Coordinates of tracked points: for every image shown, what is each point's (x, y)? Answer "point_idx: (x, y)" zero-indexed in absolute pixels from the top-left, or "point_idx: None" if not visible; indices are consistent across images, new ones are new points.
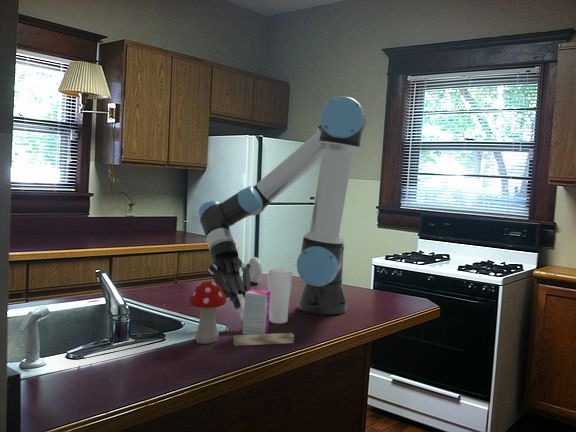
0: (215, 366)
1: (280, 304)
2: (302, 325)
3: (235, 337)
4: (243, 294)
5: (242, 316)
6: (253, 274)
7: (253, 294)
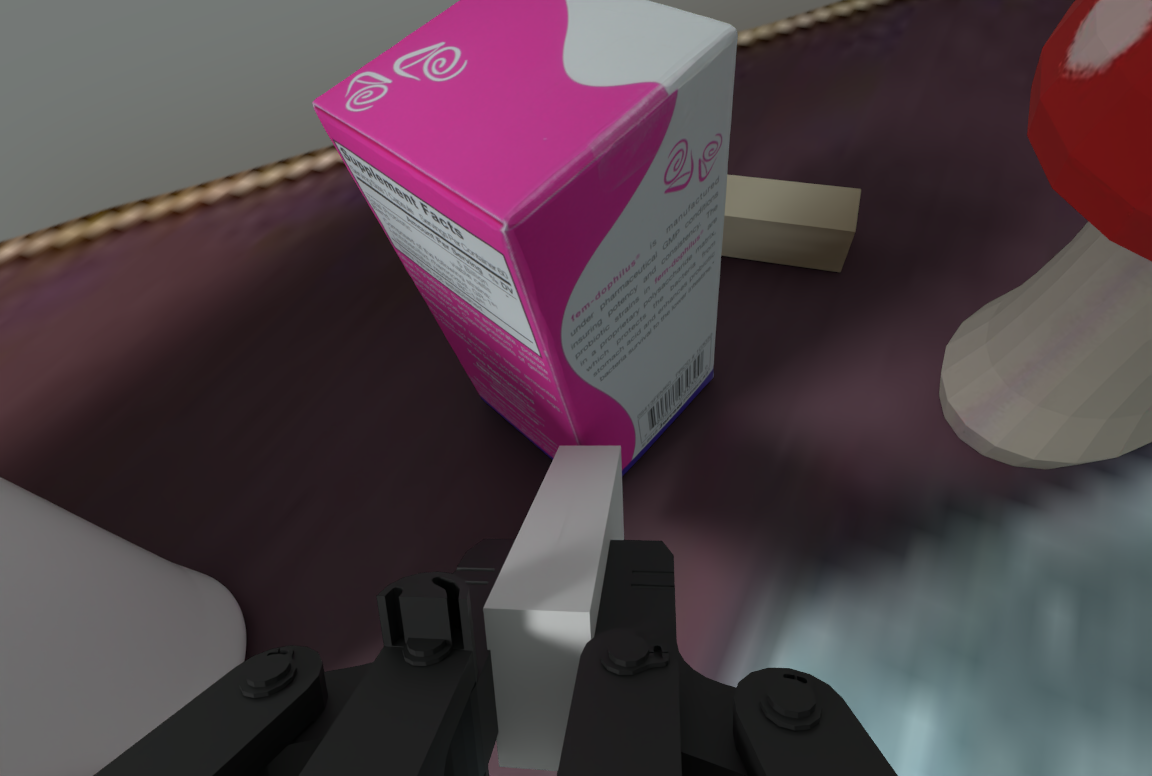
0: (1043, 22)
1: (79, 517)
2: (122, 476)
3: (856, 190)
4: (457, 637)
5: (622, 508)
6: None
7: (641, 2)
